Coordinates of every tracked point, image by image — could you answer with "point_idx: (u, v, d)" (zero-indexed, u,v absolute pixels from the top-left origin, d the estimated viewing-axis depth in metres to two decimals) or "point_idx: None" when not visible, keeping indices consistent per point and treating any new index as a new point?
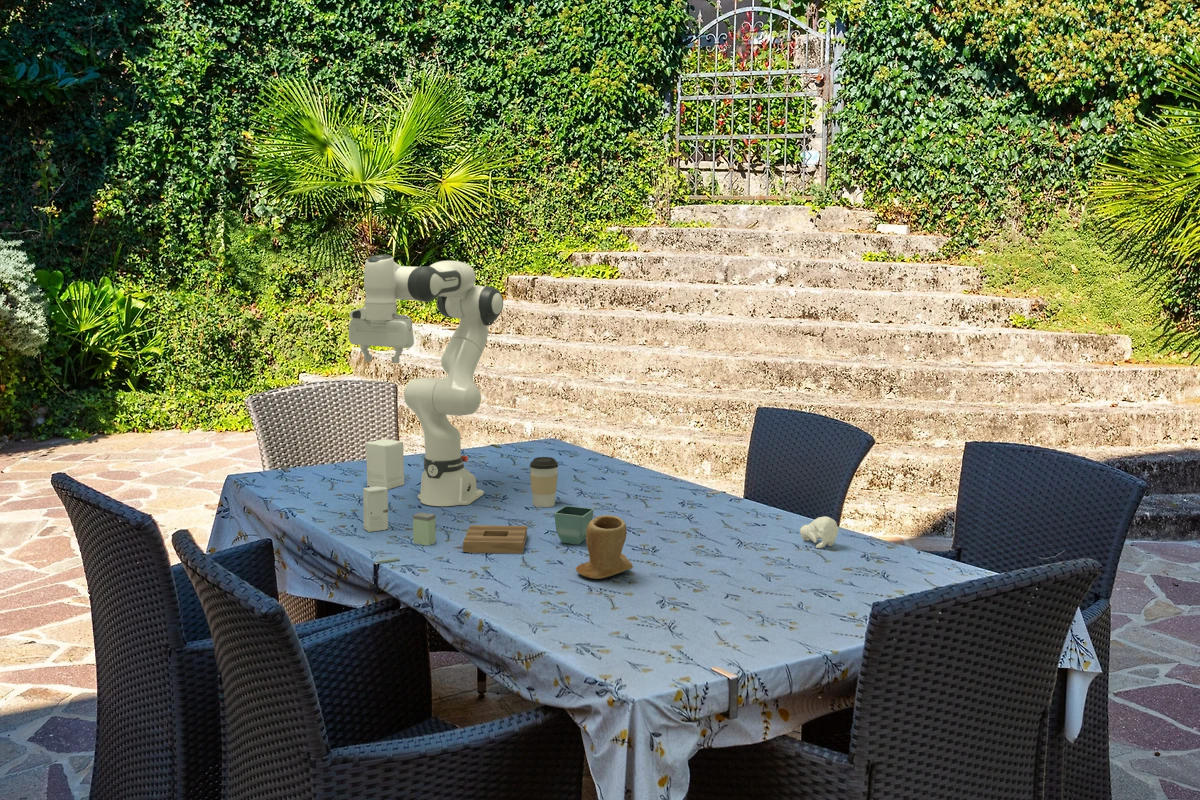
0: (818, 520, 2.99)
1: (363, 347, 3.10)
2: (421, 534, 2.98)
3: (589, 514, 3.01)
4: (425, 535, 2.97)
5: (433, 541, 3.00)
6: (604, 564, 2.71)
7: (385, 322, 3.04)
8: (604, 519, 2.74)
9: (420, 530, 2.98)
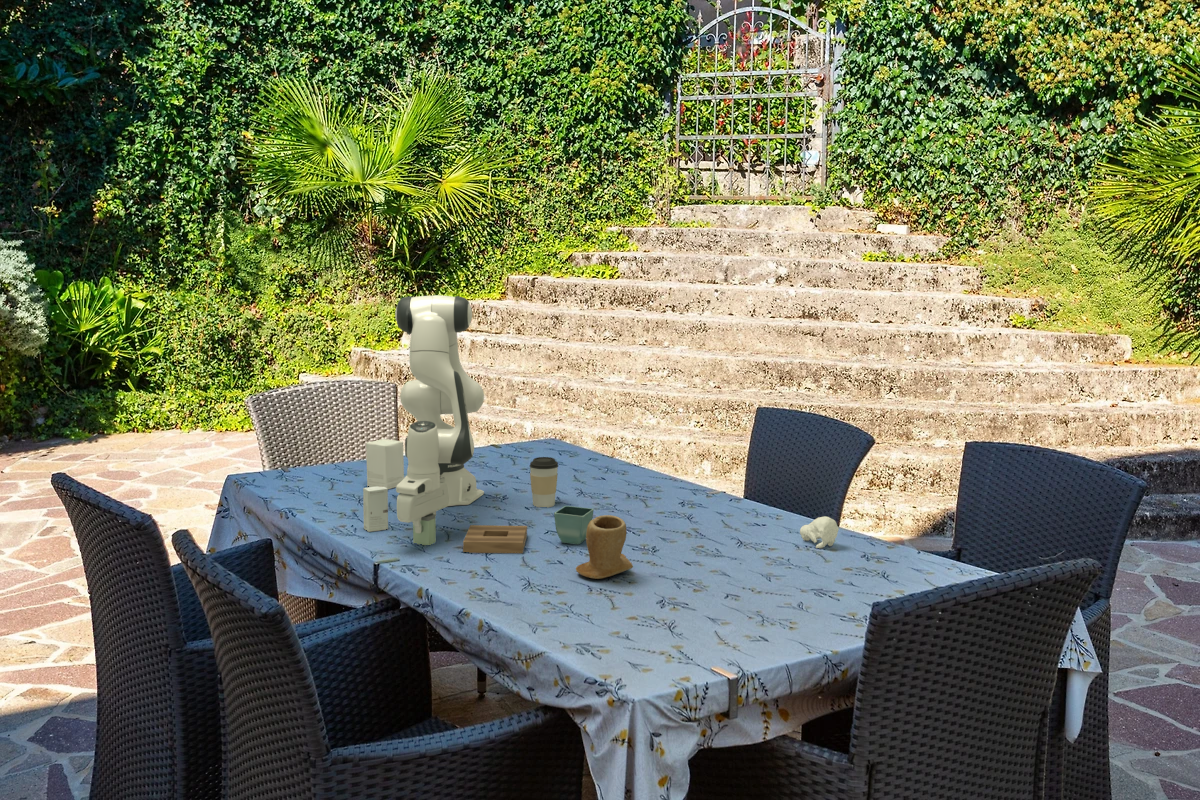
0: (818, 520, 2.99)
1: (420, 519, 2.96)
2: (421, 534, 2.98)
3: (589, 514, 3.01)
4: (425, 535, 2.97)
5: (433, 541, 3.00)
6: (604, 564, 2.71)
7: None
8: (604, 519, 2.74)
9: None
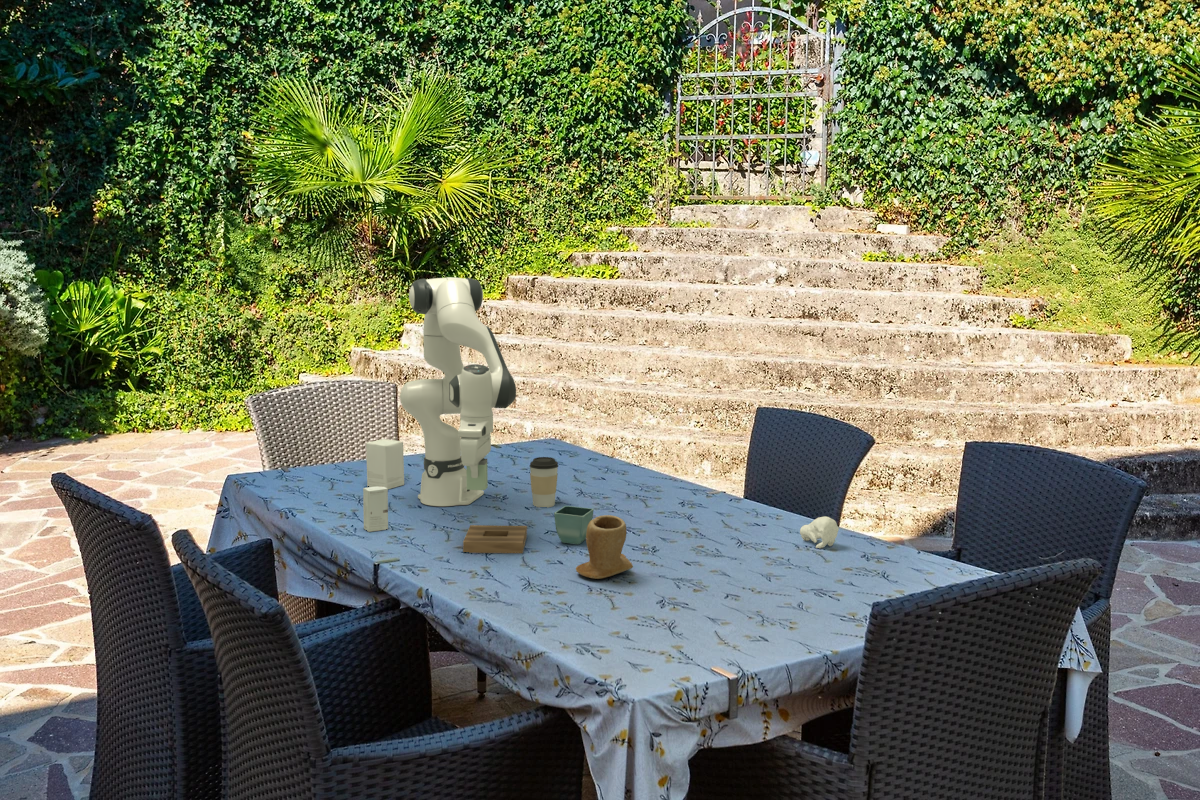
0: (818, 520, 2.99)
1: None
2: (476, 479, 2.95)
3: (589, 514, 3.01)
4: (481, 479, 2.95)
5: (486, 485, 2.97)
6: (604, 564, 2.71)
7: None
8: (604, 519, 2.74)
9: None
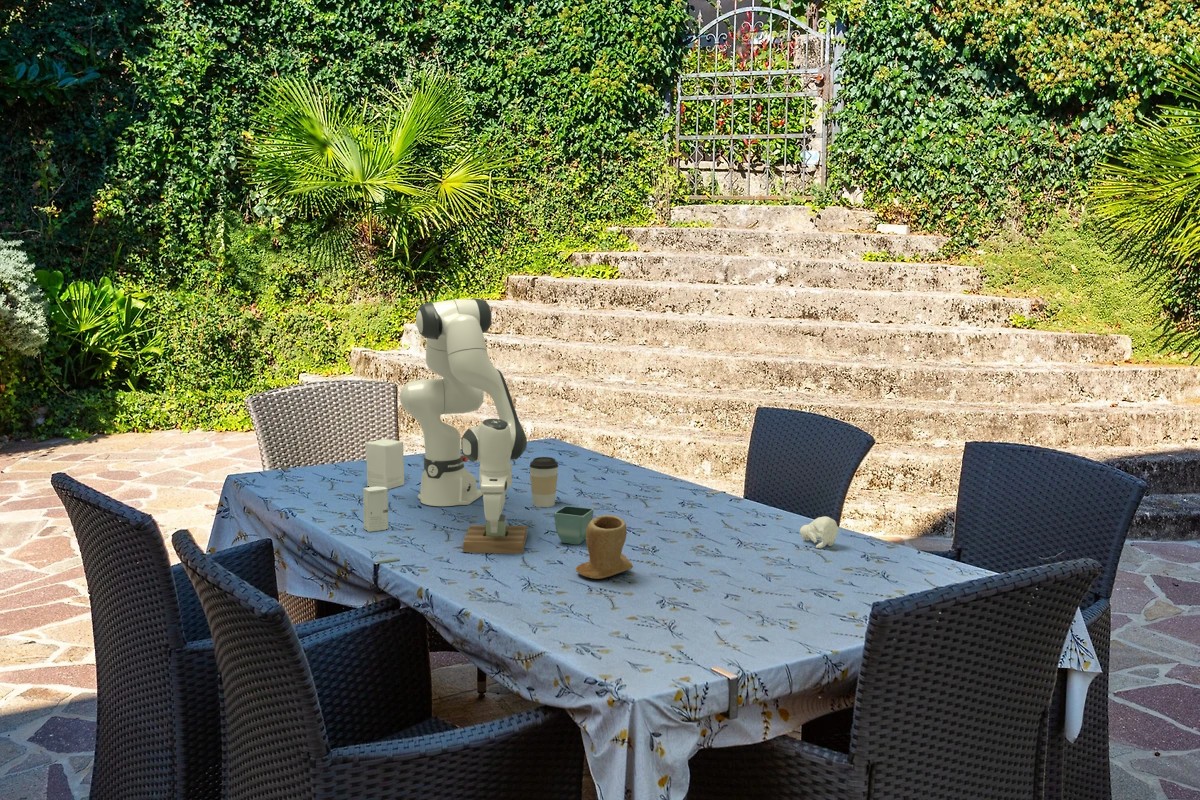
0: (818, 520, 2.99)
1: None
2: (496, 535, 2.98)
3: (589, 514, 3.01)
4: None
5: None
6: (604, 564, 2.71)
7: None
8: (604, 519, 2.74)
9: None
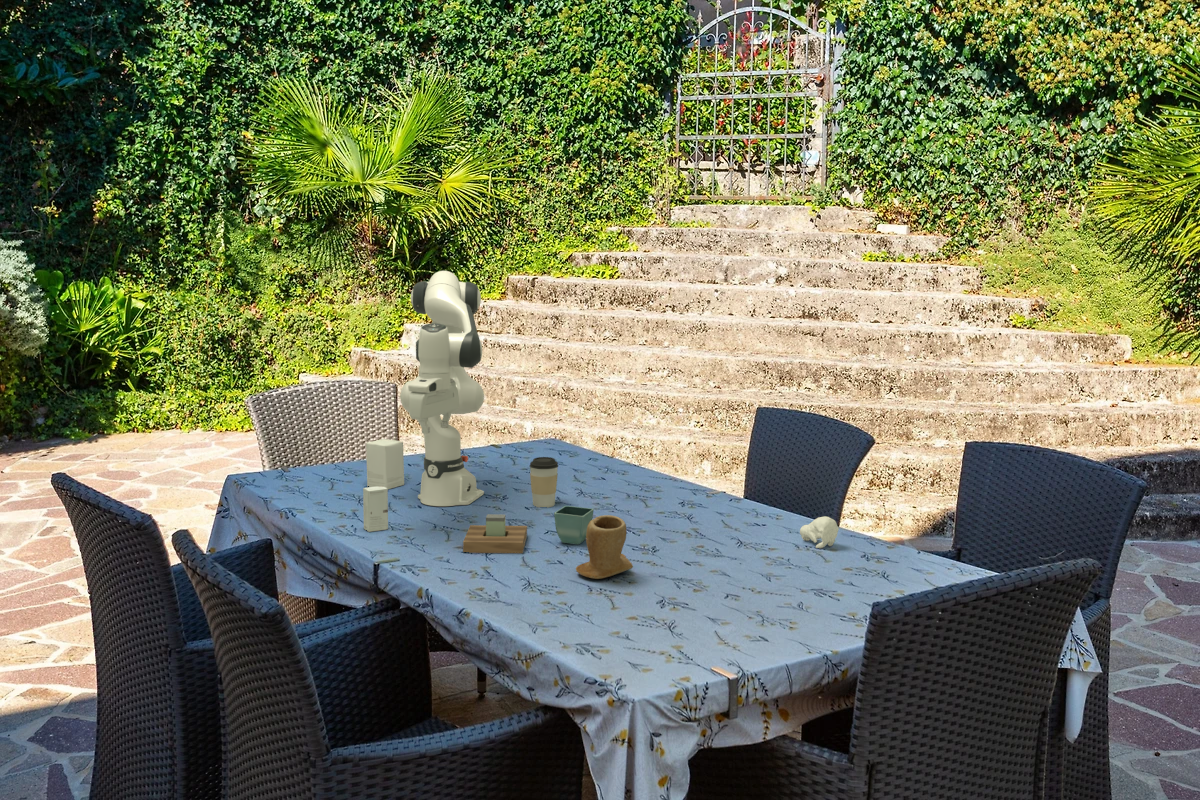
0: (818, 520, 2.99)
1: (427, 420, 3.02)
2: (496, 535, 2.98)
3: (589, 514, 3.01)
4: None
5: None
6: (604, 564, 2.71)
7: (445, 389, 3.08)
8: (604, 519, 2.74)
9: (494, 531, 2.97)
